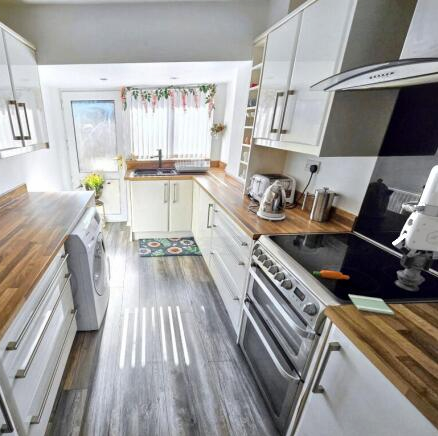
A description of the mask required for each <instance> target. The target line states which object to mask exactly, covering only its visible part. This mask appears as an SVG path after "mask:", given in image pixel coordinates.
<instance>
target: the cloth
mask: <svg viewBox="0 0 438 436" xmlns="http://www.w3.org/2000/svg"><path fill="white" fill-rule="evenodd" d="M348 297H349V299H350V301H352V303H353V305H354V306H355V307H356V309H357V310H358V311H363V312H370V313H376V314H382V315H390V316H395V315H396V314H395V312H394V311H393V310H392V309H391V307H389V306H388V305H387V303H386V302H385V301H384V300H383V299H382V298H379V297H370V296H365V295H356V294H350V293H348Z"/></svg>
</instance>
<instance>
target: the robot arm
mask: <svg viewBox="0 0 438 436" xmlns="http://www.w3.org/2000/svg"><path fill="white" fill-rule="evenodd" d="M411 209H412V210H413V212H412V213H411V214H410V216H409V217H408V218H407V220H406V222H405V224H404V226H403V228H402V229H401V232H400V234H399V237H398V238H397V239H396V240H394V241H393V242H392V244H391V245H392V246H394V247H395V248H397V249H398V250H399V251H401V253H402V256H401V259H400V261H399V262H400V263H399V264H400V265H401V266H402V267H403V268H405V269H410V268H411V266H412V263H413V261H414V258H413V257H412V256H413V255H414V254H416V253H417V251H425V253H422V255H423V256H425V258H426V259H425V261H424V264H423V266H424V268H423V269H422V270H423V271H425V272H429V271H430V269H431V268H432V266H433V263H434V260H438V164H437V165H434V166H433V167H432V168H431V171H430V173H429V176H428V179H427V181H426V183H425V187H424V189H423V192H422V194H421V197H420V199H419V201H418V204H417V205H416V204H415V205H413V206H412V208H411ZM403 245H404V246H403Z"/></svg>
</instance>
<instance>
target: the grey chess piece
mask: <svg viewBox="0 0 438 436" xmlns="http://www.w3.org/2000/svg"><path fill="white" fill-rule="evenodd" d="M412 257H413V258H414V261H413V263H412V266H411V268H410V269H406V268H405V269H404V270H398V271H396V274H397V279H396V280H395V281H394V284H395V286H397V287H399V288H401V289H403V290H407V291H411V292H418V291H420V287H419V286H420V285H421V284H422V283H423V282H425V281H426V280H425V279H426V278H424V276H422V275H421V272H422V270H423V268H424V266H423V264H424V261H425V259H426V258H425V256H423V253H422V251H418V253H417V252H415V253H414V255H413V256H412Z"/></svg>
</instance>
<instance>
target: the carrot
mask: <svg viewBox="0 0 438 436" xmlns="http://www.w3.org/2000/svg"><path fill="white" fill-rule="evenodd" d="M312 273H313V275H315V276H316V275H317V276H321V277H322V278H324V279H332V280H350V276H349V275H347V274H346V275H345V274H343V272H340V271H335V270H334V271H333V270H325V269H323V270H321V271H315V270H313V271H312Z"/></svg>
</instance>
